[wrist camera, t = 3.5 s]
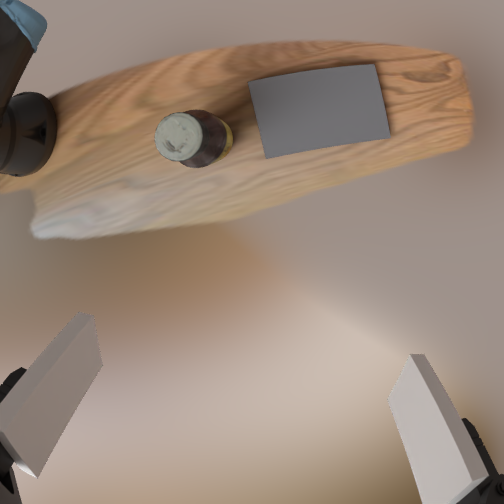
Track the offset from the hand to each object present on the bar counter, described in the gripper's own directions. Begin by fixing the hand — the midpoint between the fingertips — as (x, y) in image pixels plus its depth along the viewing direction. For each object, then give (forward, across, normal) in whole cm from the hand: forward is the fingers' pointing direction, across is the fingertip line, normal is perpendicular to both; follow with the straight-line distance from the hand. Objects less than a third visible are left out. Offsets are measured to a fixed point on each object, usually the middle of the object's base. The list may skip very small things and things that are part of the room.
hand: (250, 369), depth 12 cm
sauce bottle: (+35, -8, +8) cm, 37 cm away
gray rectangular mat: (+35, +6, +14) cm, 38 cm away
